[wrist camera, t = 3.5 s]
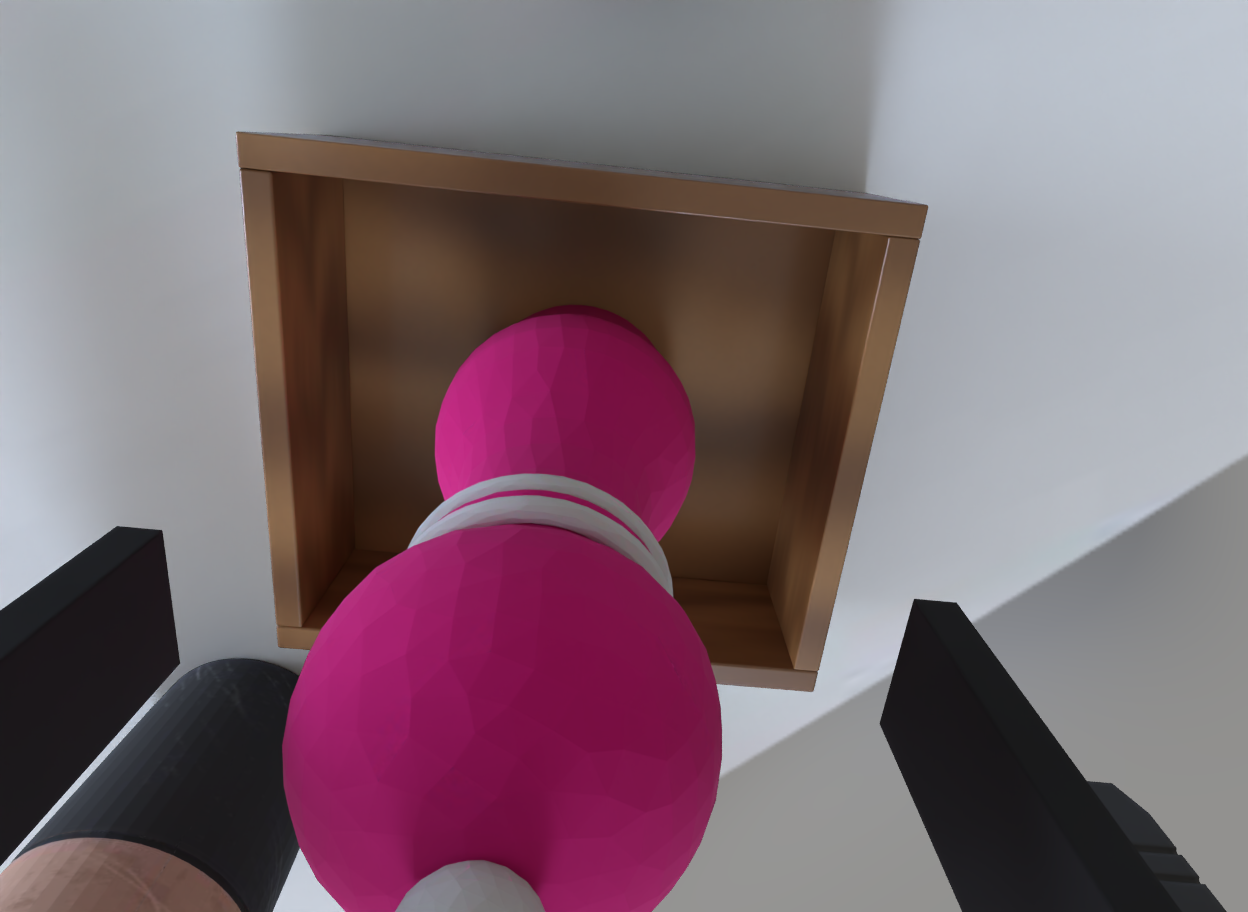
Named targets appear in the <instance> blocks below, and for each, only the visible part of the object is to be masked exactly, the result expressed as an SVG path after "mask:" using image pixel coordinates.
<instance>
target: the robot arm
mask: <svg viewBox="0 0 1248 912" xmlns="http://www.w3.org/2000/svg"><path fill="white" fill-rule="evenodd" d="M179 664H180V660H179V652H178V645H177V637H176V630H175V622H174V615H173V607H172V600H171V592H170V585H169V577H168V570H167V562H166V555H165V547H164V540H163V532H162V530H153V529H142V528H131V527H120V526H117V527H115V528H114V529H112V530H111V531H110V532H108V533H107V534H106V535H104V536H103V537H101V538H100V539H99V540H97V541H96V542H95V543H93V544H92V545H90V546H89V547H88V548H86V549H85V550H83V551H82V552H81V553H79V554H78V555H77V556H75V557H74V558H72V559H71V560H70V561H68V562H67V563H65V564H64V565H63V566H61V567H60V568H59V569H57V570H56V571H54V572H53V573H52V574H50V575H49V576H48V577H46V578H45V579H43V580H42V581H41V582H39V583H38V584H36V585H35V586H34V587H32V588H31V589H30V590H28V591H27V592H25V593H24V594H23V595H21V596H20V597H18V598H17V599H16V600H14V601H13V602H12V603H10V604H9V605H7V606H6V607H5V608H3V609H2V610H1V611H0V866H1V865H2V864H3V863H4V861H5V860H6V859H7V858H8V857H9V856H10V855H11V854H12V852H13V851H14V850H15V849H16V848H17V847H18V846H19V845H20V843H21V842H22V841H23V840H24V839H25V838H26V837H27V835H28V834H29V833H30V832H31V831H32V830H33V829H34V828H35V826H36V825H37V824H38V823H39V822H40V821H41V820H42V819H43V817H44V816H45V815H46V814H47V813H48V812H49V811H50V810H51V808H52V807H53V806H54V805H55V804H56V803H57V802H58V800H59V799H60V798H61V797H62V796H63V795H64V794H65V793H66V791H67V790H68V789H69V788H70V787H71V786H72V785H73V784H74V782H75V781H76V780H77V779H78V778H79V777H80V776H81V774H82V773H83V772H84V771H85V770H86V769H87V768H88V767H89V765H90V764H91V763H92V762H93V761H94V760H95V759H96V758H97V756H98V755H99V754H100V753H101V752H102V751H103V750H104V749H105V747H106V746H107V745H108V744H109V743H110V742H111V741H112V739H113V738H114V737H115V736H116V735H117V734H118V733H119V732H120V730H121V729H122V728H123V727H124V726H125V725H126V724H127V723H128V721H129V720H130V719H131V718H132V717H133V716H134V715H135V714H136V712H137V711H138V710H139V709H140V708H141V707H142V706H143V704H144V703H145V702H146V701H147V700H148V699H149V698H150V697H151V695H152V694H153V693H154V692H155V691H156V690H157V689H158V688H159V686H160V685H161V684H162V683H163V682H164V681H165V680H166V678H167V677H168V676H169V675H170V674H171V673H172V672H173V671H174V669H175V668H176V667H177V666H178V665H179ZM880 725H881V728H882V730H883V732H884V735H885V737H886V739H887V741H888V744H889V746H890V748H891V750H892V753H893V755H894V757H895V760H896V762H897V764H898V767H899V769H900V771H901V773H902V776H903V778H904V780H905V782H906V785H907V787H908V789H909V792H910V794H911V796H912V798H913V801H914V803H915V805H916V807H917V809H918V812H919V814H920V817H921V819H922V821H923V823H924V826H925V828H926V830H927V832H928V835H929V837H930V839H931V842H932V844H933V846H934V848H935V851H936V853H937V855H938V857H939V860H940V862H941V864H942V867H943V869H944V871H945V874H946V876H947V878H948V880H949V883H950V885H951V887H952V889H953V892H954V894H955V896H956V899H957V901H958V903H959V905H960V908H961V910H962V912H1226V910H1225V909H1224V908H1223V907H1222V905H1221V904H1220V903H1219V902H1218V900H1217V899H1216V898H1215V896H1214V895H1213V894H1212V893H1211V891H1210V890H1209V889H1208V888H1207V886H1206V885H1205V884H1200V882H1199V876H1198V875H1197V874H1196V872H1195V871H1194V870H1193V869H1192V867H1191V866H1190V865H1189V864H1188V863H1187V861H1186V860H1185V858H1184V857H1183V856H1182V855H1178V854H1177V852H1176V847H1175V846H1174V844H1173V843H1172V842H1171V841H1170V839H1169V838H1168V837H1167V836H1166V834H1165V833H1164V832H1163V831H1162V829H1161V828H1160V827H1159V825H1158V824H1157V823H1156V822H1155V820H1154V819H1153V818H1152V817H1151V815H1150V814H1149V813H1148V812H1146V811H1145V810H1144V809H1143V808H1142V807H1140V806H1139V805H1138V804H1137V803H1135V802H1134V801H1133V800H1132V799H1130V798H1129V797H1128V796H1127V795H1126V794H1124V793H1123V792H1122V791H1121V790H1119V789H1118V788H1117V787H1116V786H1115V785H1113V784H1112V783H1101V782H1090V781H1086V780H1085V778H1084V777H1083V775H1082V774H1081V773H1080V771H1079V770H1078V769H1077V767H1076V766H1075V764H1074V763H1073V762H1072V760H1071V759H1070V758H1069V757H1068V755H1067V753H1066V752H1065V751H1064V749H1063V748H1062V747H1061V745H1060V744H1059V743H1058V741H1057V740H1056V738H1055V737H1054V736H1053V734H1052V733H1051V732H1050V731H1049V729H1048V727H1047V726H1046V725H1045V723H1044V722H1043V721H1042V719H1041V718H1040V716H1039V715H1038V714H1037V713H1036V711H1035V710H1034V708H1033V707H1032V706H1031V704H1030V703H1029V701H1028V700H1027V699H1026V697H1025V696H1024V695H1023V693H1022V692H1021V691H1020V689H1019V688H1018V686H1017V685H1016V684H1015V682H1014V681H1013V680H1012V678H1011V677H1010V675H1009V674H1008V673H1007V671H1006V670H1005V669H1004V667H1003V666H1002V664H1001V663H1000V662H999V660H998V659H997V658H996V656H995V655H994V654H993V652H992V651H991V649H990V648H989V647H988V645H987V644H986V643H985V641H984V640H983V638H982V637H981V636H980V634H979V633H978V632H977V630H976V629H975V628H974V626H973V625H972V623H971V622H970V621H969V619H968V618H967V616H966V615H965V614H964V612H963V611H962V610H961V608H960V607H959V605H958V604H957V603H953V602H942V601H931V600H920V599H914V601H913V604H912V608H911V612H910V615H909V619H908V623H907V626H906V630H905V633H904V637H903V641H902V644H901V648H900V652H899V655H898V659H897V663H896V666H895V670H894V673H893V677H892V681H891V684H890V688H889V692H888V695H887V699H886V702H885V706H884V710H883V714H882V717H881V721H880Z"/></svg>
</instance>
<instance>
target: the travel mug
mask: <svg viewBox="0 0 1248 912" xmlns="http://www.w3.org/2000/svg"><path fill="white" fill-rule="evenodd" d="M298 678H299V676H297V675H295V674H293V673H292V672H290V671H288V670H285V669H283V668H281V667H279V666H276V665H273V664H270V663H266V662H261V661H257V660H249V659H225V660H218V661H214V662H210V663H207V664H204V665H201V666H199V667H197V668H195V669H193V670H191V671H190V672H188V673H187V674H185V675H184V676H183V677H181V678H180V679H179V680H178V681H177V682H176V683H175V684H174V685H173V686H172V687H171V688H170V689H169V690H168V691H167V692H166V693H165V694H164V695H163V696H162V698H161V699H160V700H159V701H158V702H157V703H156V704H155V705H154V706H153V707H152V708H151V709H150V710H149V711H148V712H147V714H146V715H145V716H144V717H143V718H142V719H141V720H140V721H139V722H138V723H137V725H136V726H135V727H134V728H133V729H132V730H131V731H130V732H129V733H128V734H127V736H126V737H125V738H124V739H123V740H122V741H121V742H120V743H119V744H118V745H117V747H116V748H115V749H114V750H113V751H112V752H111V753H110V754H109V755H108V756H107V758H106V759H105V760H104V761H103V762H102V763H101V764H100V765H99V766H98V767H97V768H96V770H95V771H94V772H93V773H92V774H91V775H90V776H89V777H88V778H87V779H86V781H85V782H84V783H83V784H82V785H81V786H80V787H79V788H78V789H77V790H76V792H75V793H74V794H73V795H72V796H71V797H70V798H69V799H68V800H67V801H66V803H65V804H64V805H63V806H62V807H61V808H60V809H59V810H58V811H57V812H56V814H55V815H54V816H53V817H52V818H51V819H50V820H49V821H48V822H47V823H46V824H45V826H44V827H43V828H42V829H41V830H40V831H39V832H38V833H37V834H36V835H35V837H34V838H33V839H32V840H31V841H30V842H29V843H28V844H27V845H26V846H25V848H24V849H23V850H22V851H21V852H20V853H19V854H18V855H17V856H16V857H15V859H14V860H13V861H12V863H11V864H10V865H9V866H8V867H7V868H6V869H5V870H4V871H3V872H2V873H1V874H0V912H273V909H274V907H275V905H276V902H277V900H278V898H279V895H280V893H281V891H282V888H283V886H284V884H285V881H286V879H287V877H288V874H289V872H290V869H291V867H292V865H293V862H294V860H295V858H296V855H297V853H298V851H299V848H300V847H299V844H298V840H297V837H296V833H295V830H294V827H293V823H292V820H291V816H290V812H289V808H288V804H287V799H286V795H285V790H284V784H283V753H282V744H283V738H284V732H285V727H286V721H287V715H288V710H289V704H290V699H291V696H292V694H293V691H294V689H295V686H296V683H297V681H298Z"/></svg>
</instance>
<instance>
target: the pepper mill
mask: <svg viewBox="0 0 1248 912" xmlns="http://www.w3.org/2000/svg"><path fill="white" fill-rule="evenodd" d="M435 460H436V468H437V475H438V482H439V485H440V488H441V491H442V494H443V497H444V500H445V501H444V502H443V503H442V504H441V505H439V506H438V507H437V508H436V509H435V510H434V511H433V512H432V513H431V514H430V515H429V516H428V517H427V519H426V520H425V521H424V522H423V523H422V524H421V526H420V527H419V528H418V530H417V532H416V533H415V535H414V537H413V539H412V541H411V542H410V544H409V546H408V549H407V550H405V551H403V552H402V553H400V554H398V555H397V556H395V557H393V558H391V559H390V560H388V561H386V562H384V563H383V564H381V565H379V566H378V567H376V568H375V569H374V570H373V571H372V572H371V573H370V574H369V575H368V576H367V577H366V578H365V579H364V580H363V581H362V582H361V583H360V584H359V585H358V586H357V587H356V588H355V589H354V590H353V591H352V592H351V593H350V594H349V595H348V596H347V597H346V598H345V599H344V600H343V601H342V603H341V604H340V605H339V606H338V608H337V609H336V610H335V612H334V613H333V614H332V616H331V617H330V618H329V619H328V621H327V622H326V623H325V625H324V626H323V627H322V629H321V630H320V632H319V634H318V636H317V638H316V640H315V642H314V644H313V646H312V648H311V650H310V652H309V653H308V656H307V658H306V661H305V663H304V666H303V668H302V671H301V673H300V676H299V678H298V681H297V683H296V686H295V689H294V691H293V694H292V696H291V699H290V704H289V710H288V715H287V721H286V727H285V732H284V738H283V744H282V753H283V784H284V790H285V795H286V799H287V804H288V808H289V812H290V816H291V820H292V823H293V827H294V830H295V833H296V837H297V840H298V844H299V847H300V848H301V850H302V852H303V854H304V856H305V858H306V860H307V862H308V863H309V865H310V867H311V869H312V871H313V873H314V875H315V877H316V878H317V880H318V882H319V883H320V884H321V885H322V886H323V887H324V888H325V889H326V890H327V892H328V893H329V894H330V895H331V896H332V897H333V898H334V899H335V900H336V902H337V903H338V904H339V905H340V906H341V907H342V908H343V909H344V910H345V912H652V911H653V909H654V908H655V907H656V906H657V905H658V904H659V903H660V902H661V901H662V900H663V899H664V897H665V896H666V895H667V894H668V893H669V892H670V891H671V890H672V888H673V887H674V885H675V884H676V882H677V881H678V880H679V878H680V877H681V876H682V874H683V873H684V871H685V870H686V868H687V867H688V865H689V863H690V861H691V860H692V858H693V856H694V854H695V852H696V851H697V849H698V847H699V845H700V843H701V840H702V838H703V835H704V832H705V829H706V827H707V824H708V821H709V818H710V815H711V812H712V810H713V807H714V804H715V801H716V795H717V788H718V781H719V775H720V768H721V761H722V723H721V707H720V701H719V696H718V690H717V685H716V680H715V676H714V673H713V670H712V666H711V663H710V660H709V657H708V653H707V650H706V648H705V646H704V644H703V642H702V641H701V639H700V637H699V635H698V634H697V632H696V630H695V628H694V627H693V625H692V623H691V621H690V620H689V618H688V616H687V614H686V613H685V611H684V610H683V609H682V607H681V606H680V604H679V603H678V602H677V601H676V600H675V599H674V598H673V587H672V578H671V574H670V571H669V567H668V563H667V559H666V557H665V555H664V552H663V550H662V548H661V546H660V545H659V543H658V542H659V541H660V540H661V539H662V537H663V536H664V535H665V533H666V532H667V531H668V529H669V528H670V527H671V525H672V523H673V521H674V519H675V517H676V515H677V514H678V512H679V510H680V508H681V506H682V504H683V502H684V500H685V498H686V496H687V493H688V490H689V487H690V484H691V481H692V476H693V469H694V462H695V421H694V417H693V413H692V409H691V405H690V401H689V398H688V396H687V394H686V392H685V389H684V387H683V385H682V383H681V381H680V379H679V378H678V376H677V375H676V373H675V372H674V370H673V369H672V367H671V366H670V364H669V363H668V362H667V361H666V360H665V359H664V357H663V356H662V355H661V354H660V353H659V352H658V351H657V350H656V348H655V347H654V345H653V344H652V343H651V341H650V340H649V339H648V338H647V337H646V336H645V335H644V333H643V332H641V331H640V330H639V329H638V328H636V327H635V326H634V325H633V324H631V323H630V322H629V321H628V320H626V319H624V318H622V317H621V316H619V315H617V314H614V313H612V312H610V311H607V310H604V309H600V308H597V307H593V306H586V305H563V306H555V307H551V308H548V309H545V310H542V311H539V312H536V313H534V314H532V315H530V316H528V317H527V318H525V319H523V320H521V321H520V322H518V323H515V324H513V325H511V326H509V327H507V328H505V329H503V330H501V331H499V332H497V333H495V334H494V335H492V336H491V337H490V338H489V339H487V340H486V341H485V342H484V343H482V344H481V345H480V346H479V347H477V348H476V349H475V350H474V351H473V352H472V353H471V354H470V356H469V357H468V358H467V359H466V360H465V362H464V363H463V364H462V365H461V366H460V367H459V369H458V371H457V373H456V375H455V376H454V378H453V380H452V382H451V384H450V386H449V388H448V390H447V392H446V395H445V397H444V400H443V402H442V405H441V409H440V412H439V416H438V420H437V424H436V431H435Z"/></svg>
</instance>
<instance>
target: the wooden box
mask: <svg viewBox="0 0 1248 912" xmlns="http://www.w3.org/2000/svg"><path fill="white" fill-rule="evenodd" d="M236 143H237V155H238V166H239V167H240V168H241V169H240V171H239V172H240V185H241V197H242V209H243V221H244V234H245V246H246V258H247V271H248V283H249V295H250V307H251V320H252V332H253V344H254V357H255V369H256V381H257V393H258V406H259V418H260V430H261V443H262V455H263V467H264V479H265V492H266V504H267V516H268V529H269V541H270V553H271V565H272V578H273V590H274V602H275V614H276V624H277V639H278V646H279V647H281V648H293V649H305V650H311V648H312V646H313V644H314V642H315V640H316V638H317V636H318V634H319V632H320V630H321V629H322V627H323V626H324V625H325V623H326V622H327V621H328V619H329V618H330V617H331V616H332V614H333V613H334V612H335V610H336V609H337V608H338V606H339V605H340V604H341V603H342V601H343V600H344V599H345V598H346V597H347V596H348V595H349V594H350V593H351V592H352V591H353V590H354V589H355V588H356V587H357V586H358V585H359V584H360V583H361V582H362V581H363V580H364V579H365V578H366V577H367V576H368V575H369V574H370V573H371V572H372V571H373V570H374V569H375V568H376V567H378V566H379V565H381V564H383V563H384V562H386V561H388V560H390V559H391V558H393V557H395V556H397V555H398V554H400V553H402V552H403V551H405V550H407V549H408V546H409V544H410V542H411V541H412V539H413V537H414V535H415V533H416V532H417V530H418V528H419V527H420V526H421V524H422V523H423V522H424V521H425V520H426V519H427V517H428V516H429V515H430V514H431V513H432V512H433V511H434V510H435V509H436V508H437V507H438V506H439V505H441V504H442V503H443V502H444V501H445V500H444V497H443V494H442V491H441V488H440V485H439V482H438V475H437V468H436V460H435V431H436V424H437V420H438V416H439V412H440V409H441V405H442V402H443V400H444V397H445V395H446V392H447V390H448V388H449V386H450V384H451V382H452V380H453V378H454V376H455V375H456V373H457V371H458V369H459V367H460V366H461V365H462V364H463V363H464V362H465V360H466V359H467V358H468V357H469V356H470V354H471V353H472V352H473V351H474V350H475V349H476V348H477V347H479V346H480V345H481V344H482V343H484V342H485V341H486V340H487V339H489V338H490V337H491V336H492V335H494V334H495V333H497V332H499V331H501V330H503V329H505V328H507V327H509V326H511V325H513V324H515V323H518V322H520V321H521V320H523V319H525V318H527V317H528V316H530V315H532V314H534V313H536V312H539V311H542V310H545V309H548V308H551V307H555V306H563V305H586V306H593V307H597V308H600V309H604V310H607V311H610V312H612V313H614V314H617V315H619V316H621V317H622V318H624V319H626V320H628V321H629V322H630V323H631V324H633V325H634V326H635V327H636V328H638V329H639V330H640V331H641V332H643V333H644V335H645V336H646V337H647V338H648V339H649V340H650V341H651V343H652V344H653V345H654V347H655V348H656V350H657V351H658V352H659V353H660V354H661V355H662V356H663V357H664V359H665V360H666V361H667V362H668V363H669V364H670V366H671V367H672V369H673V370H674V372H675V373H676V375H677V376H678V378H679V379H680V381H681V383H682V385H683V387H684V389H685V392H686V394H687V396H688V398H689V401H690V405H691V409H692V413H693V417H694V421H695V462H694V469H693V476H692V481H691V484H690V487H689V490H688V493H687V496H686V498H685V500H684V502H683V504H682V506H681V508H680V510H679V512H678V514H677V515H676V517H675V519H674V521H673V523H672V525H671V527H670V528H669V529H668V531H667V532H666V533H665V535H664V536H663V537H662V539H661V540H660V541H659V542H658V543H659V545H660V546H661V548H662V550H663V552H664V555H665V557H666V559H667V563H668V567H669V571H670V574H671V578H672V587H673V598H674V599H675V600H676V601H677V602H678V603H679V604H680V606H681V607H682V609H683V610H684V611H685V613H686V614H687V616H688V618H689V620H690V621H691V623H692V625H693V627H694V628H695V630H696V632H697V634H698V635H699V637H700V639H701V641H702V642H703V644H704V646H705V648H706V650H707V653H708V657H709V660H710V663H711V666H712V670H713V673H714V676H715V680H716V684H724V685H736V686H747V687H759V688H771V689H783V690H795V691H807V692H813V691H814V687H815V683H816V678H817V674H818V672H817V671H818V670H819V667H820V662H821V658H822V654H823V650H824V646H825V641H826V637H827V633H828V629H829V624H830V620H831V616H832V612H833V607H834V603H835V599H836V595H837V590H838V586H839V582H840V578H841V574H842V569H843V565H844V561H845V557H846V552H847V548H848V544H849V540H850V535H851V531H852V527H853V523H854V518H855V514H856V510H857V506H858V502H859V497H860V493H861V489H862V485H863V480H864V476H865V472H866V468H867V463H868V459H869V455H870V451H871V446H872V442H873V438H874V434H875V430H876V425H877V421H878V417H879V413H880V408H881V404H882V400H883V396H884V391H885V387H886V383H887V379H888V374H889V370H890V366H891V362H892V358H893V353H894V349H895V345H896V341H897V336H898V332H899V328H900V324H901V319H902V315H903V311H904V307H905V302H906V298H907V294H908V290H909V286H910V281H911V277H912V273H913V269H914V264H915V260H916V256H917V252H918V247H919V243H920V240H919V239H920V238H921V236H922V231H923V227H924V223H925V219H926V215H927V210H928V206H927V205H924V204H919V203H914V202H909V201H904V200H898V199H893V198H888V197H883V196H878V195H873V194H867V193H860V192H851V191H842V190H832V189H823V188H814V187H804V186H795V185H786V184H776V183H767V182H757V181H748V180H739V179H729V178H720V177H711V176H701V175H692V174H683V173H673V172H664V171H654V170H645V169H636V168H626V167H617V166H608V165H598V164H589V163H580V162H570V161H561V160H551V159H542V158H533V157H523V156H514V155H505V154H495V153H486V152H477V151H467V150H458V149H448V148H439V147H430V146H420V145H411V144H402V143H392V142H383V141H374V140H364V139H355V138H345V137H336V136H327V135H313V134H287V133H262V132H236Z"/></svg>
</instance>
